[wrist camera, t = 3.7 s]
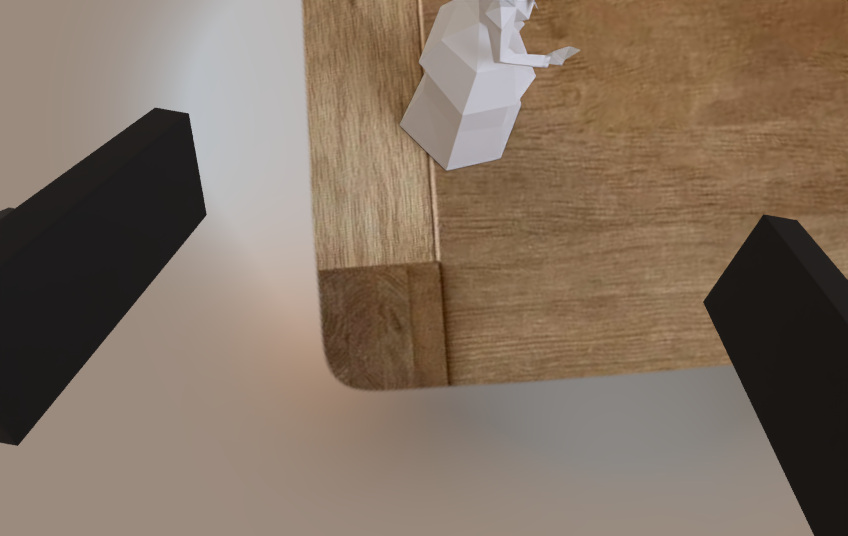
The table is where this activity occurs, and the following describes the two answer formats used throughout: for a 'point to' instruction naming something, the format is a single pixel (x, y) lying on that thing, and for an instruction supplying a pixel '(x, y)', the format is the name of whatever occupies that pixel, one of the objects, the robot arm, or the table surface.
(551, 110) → the table surface
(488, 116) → the figurine
